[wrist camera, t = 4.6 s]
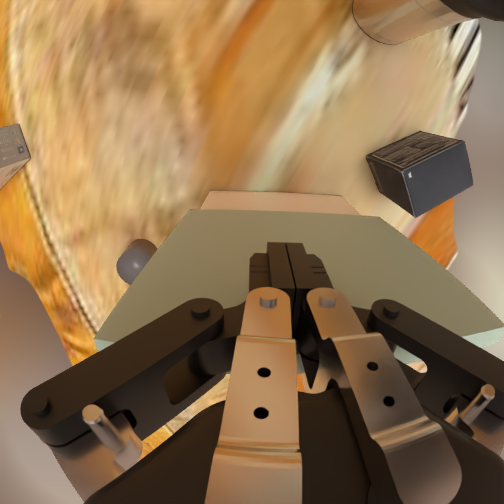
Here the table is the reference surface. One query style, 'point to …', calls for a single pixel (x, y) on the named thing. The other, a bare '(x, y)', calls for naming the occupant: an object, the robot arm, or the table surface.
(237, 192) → the storage box
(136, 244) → the dark grey cylinder
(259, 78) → the table surface
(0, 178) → the hard drive box
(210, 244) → the lid
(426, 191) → the small box
